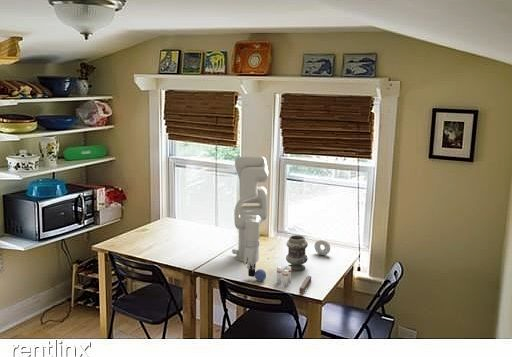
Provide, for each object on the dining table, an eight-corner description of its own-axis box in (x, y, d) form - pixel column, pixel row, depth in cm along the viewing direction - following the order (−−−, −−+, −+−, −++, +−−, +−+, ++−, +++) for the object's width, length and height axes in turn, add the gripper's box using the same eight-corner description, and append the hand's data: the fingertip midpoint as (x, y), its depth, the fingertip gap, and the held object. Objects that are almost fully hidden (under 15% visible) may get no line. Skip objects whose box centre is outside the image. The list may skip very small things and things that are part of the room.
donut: (330, 255, 294) (331, 239, 292) (328, 257, 291) (329, 241, 289) (315, 252, 299) (316, 236, 297) (313, 254, 296) (313, 238, 294)
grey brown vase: (293, 262, 283) (294, 232, 279) (311, 267, 276) (312, 236, 272) (281, 268, 274) (282, 237, 270) (299, 274, 267) (300, 242, 263)
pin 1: (282, 286, 250) (283, 271, 249) (284, 284, 253) (284, 269, 251) (287, 287, 250) (287, 272, 248) (288, 285, 252) (289, 270, 250)
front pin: (276, 283, 254) (276, 268, 252) (277, 281, 256) (277, 266, 255) (280, 284, 253) (281, 268, 251) (282, 282, 256) (282, 267, 254)
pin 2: (285, 283, 255) (285, 267, 253) (286, 281, 257) (287, 265, 255) (290, 283, 254) (290, 268, 252) (291, 281, 256) (291, 266, 255)
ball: (253, 270, 254) (263, 274, 252) (258, 265, 260) (268, 269, 257) (252, 280, 257) (262, 284, 254) (257, 275, 262) (267, 279, 260)
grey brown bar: (299, 293, 243) (299, 287, 243) (307, 281, 258) (307, 275, 257) (303, 294, 242) (303, 288, 242) (311, 281, 257) (311, 276, 257)
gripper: (250, 237, 263) (250, 269, 267) (239, 246, 250) (239, 280, 254) (264, 239, 261) (263, 271, 265) (253, 248, 247) (253, 282, 251)
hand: (251, 275), depth 259 cm, fingers closed
